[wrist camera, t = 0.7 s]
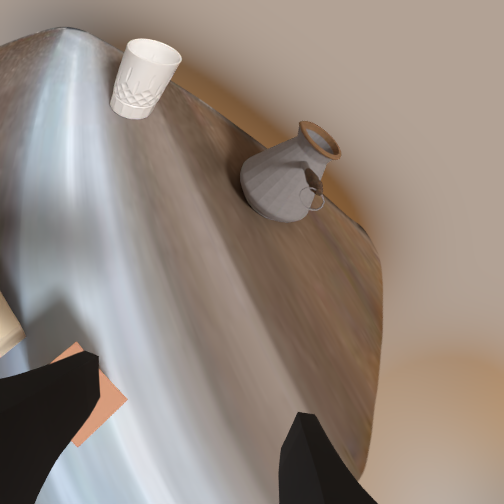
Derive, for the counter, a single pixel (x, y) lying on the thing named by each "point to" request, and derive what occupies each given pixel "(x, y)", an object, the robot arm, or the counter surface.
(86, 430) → the terracotta block
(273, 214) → the coffee pot
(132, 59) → the white cup
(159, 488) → the counter surface
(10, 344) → the birch block
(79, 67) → the counter surface
